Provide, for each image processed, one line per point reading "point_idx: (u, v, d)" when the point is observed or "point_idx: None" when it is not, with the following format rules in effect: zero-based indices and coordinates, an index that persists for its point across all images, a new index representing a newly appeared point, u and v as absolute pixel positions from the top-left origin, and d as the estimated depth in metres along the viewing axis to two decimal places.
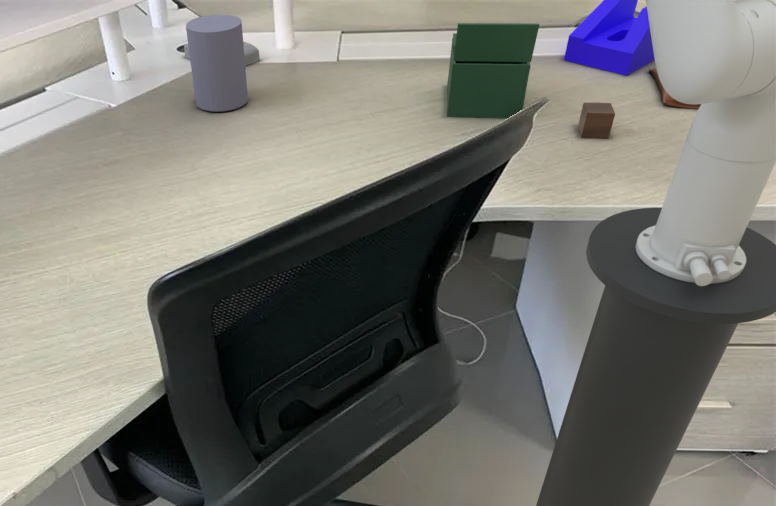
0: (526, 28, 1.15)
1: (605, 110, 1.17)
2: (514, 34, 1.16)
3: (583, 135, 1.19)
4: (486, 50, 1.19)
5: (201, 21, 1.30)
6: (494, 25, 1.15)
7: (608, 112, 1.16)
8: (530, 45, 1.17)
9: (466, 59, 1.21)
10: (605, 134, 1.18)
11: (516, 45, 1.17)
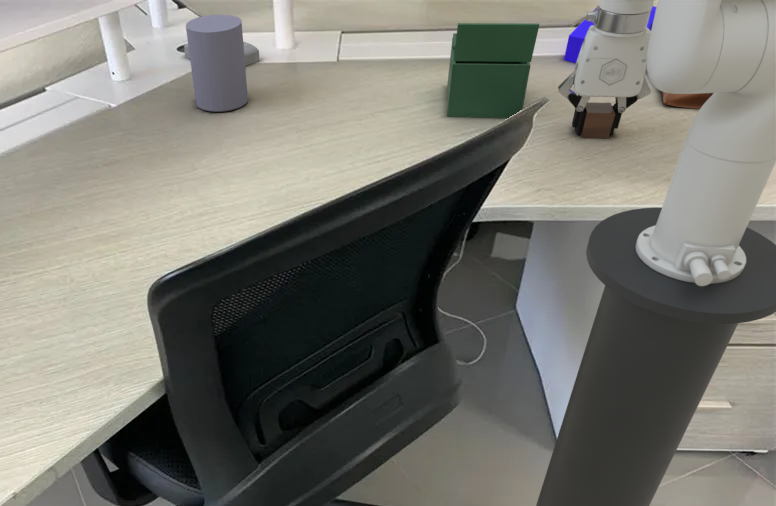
0: (526, 28, 1.15)
1: (605, 110, 1.17)
2: (514, 34, 1.16)
3: (583, 135, 1.19)
4: (486, 50, 1.19)
5: (201, 21, 1.30)
6: (494, 25, 1.15)
7: (608, 112, 1.16)
8: (530, 45, 1.17)
9: (466, 59, 1.21)
10: (605, 134, 1.18)
11: (516, 45, 1.17)
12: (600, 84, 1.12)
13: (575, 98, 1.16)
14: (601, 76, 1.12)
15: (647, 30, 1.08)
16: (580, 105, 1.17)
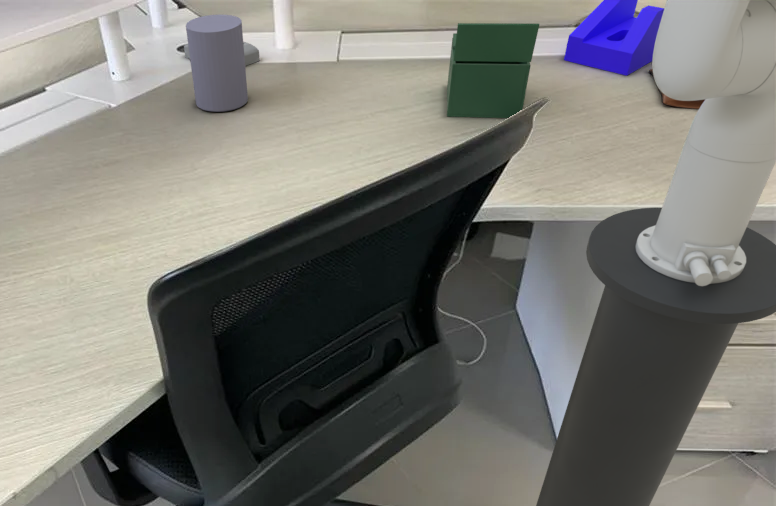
0: (526, 28, 1.15)
1: None
2: (514, 34, 1.16)
3: None
4: (486, 50, 1.19)
5: (201, 21, 1.30)
6: (494, 25, 1.15)
7: None
8: (530, 45, 1.17)
9: (466, 59, 1.21)
10: None
11: (516, 45, 1.17)
12: None
13: None
14: None
15: None
16: None
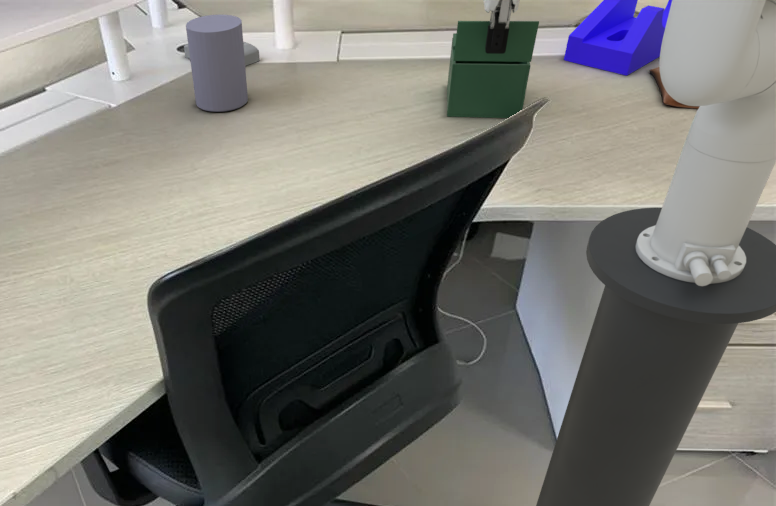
0: (526, 26, 1.15)
1: None
2: (514, 32, 1.16)
3: None
4: None
5: (201, 21, 1.30)
6: None
7: None
8: (530, 44, 1.17)
9: (466, 59, 1.21)
10: None
11: (516, 44, 1.18)
12: None
13: None
14: None
15: None
16: (491, 17, 1.14)
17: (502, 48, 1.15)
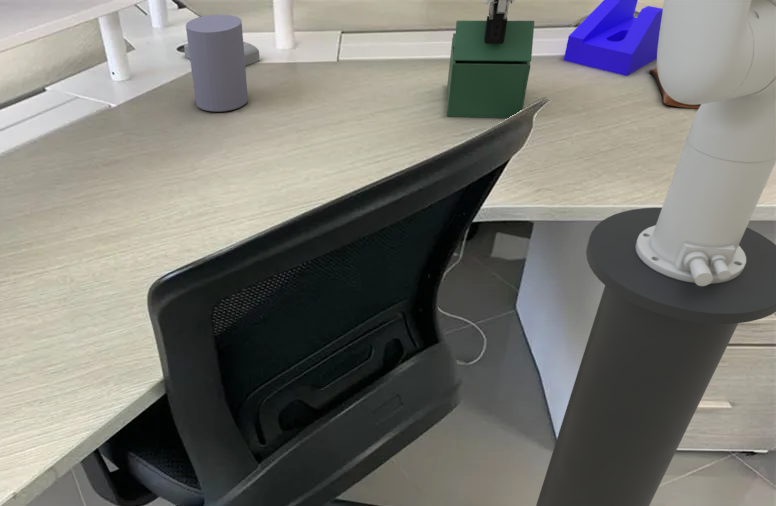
0: (522, 24, 1.20)
1: None
2: (511, 30, 1.20)
3: None
4: (486, 47, 1.21)
5: (201, 21, 1.30)
6: None
7: None
8: (528, 42, 1.19)
9: (466, 58, 1.21)
10: None
11: (514, 42, 1.20)
12: None
13: None
14: None
15: None
16: (489, 8, 1.18)
17: (501, 38, 1.19)
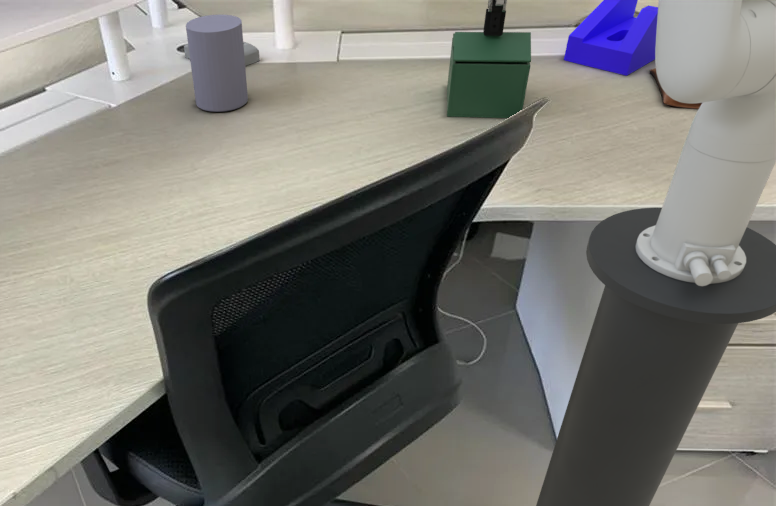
0: (519, 34, 1.22)
1: None
2: (509, 39, 1.22)
3: None
4: (485, 50, 1.22)
5: (201, 21, 1.30)
6: None
7: None
8: (526, 47, 1.21)
9: (466, 58, 1.21)
10: None
11: (513, 47, 1.21)
12: None
13: None
14: None
15: None
16: (488, 1, 1.21)
17: (499, 30, 1.21)
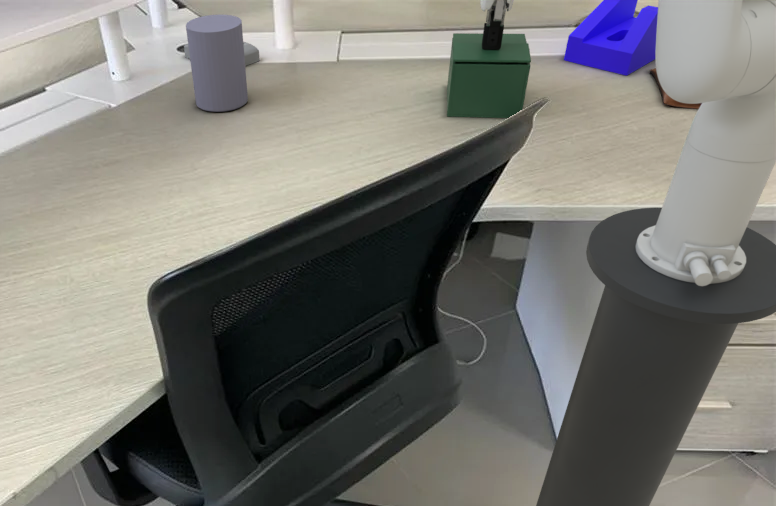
0: (517, 44, 1.24)
1: None
2: (507, 47, 1.24)
3: None
4: (484, 54, 1.22)
5: (201, 21, 1.30)
6: None
7: None
8: (525, 52, 1.22)
9: (466, 58, 1.22)
10: None
11: (512, 52, 1.22)
12: None
13: None
14: None
15: None
16: (487, 15, 1.21)
17: (497, 44, 1.22)
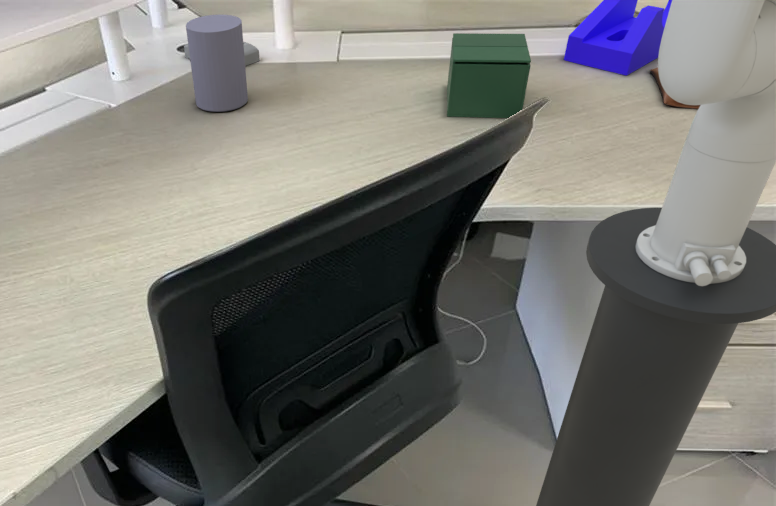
0: (516, 48, 1.24)
1: None
2: (507, 49, 1.24)
3: None
4: (484, 55, 1.22)
5: (201, 21, 1.30)
6: None
7: None
8: (525, 54, 1.22)
9: (466, 58, 1.22)
10: None
11: (512, 53, 1.22)
12: None
13: None
14: None
15: None
16: None
17: None
